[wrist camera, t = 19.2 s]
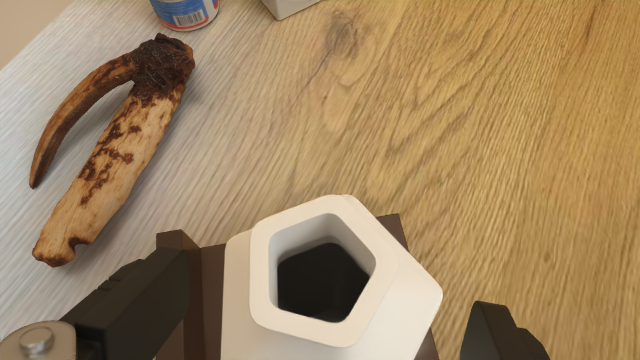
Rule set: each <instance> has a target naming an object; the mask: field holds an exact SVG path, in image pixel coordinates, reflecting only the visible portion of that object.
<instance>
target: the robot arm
mask: <svg viewBox="0 0 640 360" xmlns="http://www.w3.org/2000/svg"><path fill="white" fill-rule="evenodd" d="M189 300H190V253H189V251H188V250H187V249H182V248H176V247H170V246H164V245H161V246H159V247H158V248H157V249H156V250H155V251H154V252H152V253H151V254H150V255H149V256H148V257H147V258H146V259H145V260H143V259H138V260H136V261H134V262H132V263H129V264H127V265H125V266H123V267H121V268H120V269H119V270H118V271H116V272H115V273H114V274H113V275H112V276H110V277H109V279H108V280H106V281H104V282H103V283H102V284H101V285H100V286H99V287H98V289H95V290H94V291H93V292H91V293H90V294H89V295H88V296H87V297H86V298H84V299H83V300H82V301H81V302H80V303H78V304H77V305H76V306H75V307H74V308H72V309H71V310H70V311H69V312H68V313H67V314H65V315H64V316H63V317H62V318H61V319H59V320H58V321H54V320H51V321H42V322H37V323H33V324H30V325H27V326H24V327H22V328H20V329H18V330H16V331H14V332H12V333H11V334H9V335H8V336H7V337H5V338H4V339H3V340H2V341H1V342H0V360H152V359H153V358H154V357H155V355H156V354H157V353H158V351H159V350H160V349H161V347H162V346H163V345H164V343H165V342H166V340H167V339H168V338H169V336H170V335H171V334H172V332H173V331H174V330H175V328H176V327H177V326H178V324H179V323H180V321H181V320H182V319H183V317H184V315H185V313H186V311H187V308H188V305H189ZM460 360H550V358H549V356H548V354H547V352H546V351H545V349H544V347H543V345H542V344H541V343H540V342H539V341H538V340H537V339H536V338H535V337H534V336H533V335H532V334H531V333H530V332H529V331H528V330H527V329H524V328H518V327H517V326H516V324H515V322H514V320H513V318H512V316H511V314H510V312H509V309H508V308H507V307H506V306H505V305H499V304H493V303H487V302H482V301H475V302H474V304H473V306H472V309H471V313H470V317H469V320H468V324H467V328H466V331H465V335H464V339H463V342H462V346H461V351H460Z"/></svg>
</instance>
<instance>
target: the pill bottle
mask: <svg viewBox="0 0 640 360" xmlns="http://www.w3.org/2000/svg"><path fill="white" fill-rule="evenodd" d="M149 1H150V3H151V5H152V7H153V9H154V11H155V13H156V15H157V17H158V18H159V20H160V21H161V22H162V23H163V24H164V25H165V26H166V27H168V28H170V29H172V30H176V31H192V30H196V29H199V28H201V27H203V26H205V25H207V24H208V23H209V22H211V21H212V20H213V19H214V17H215V16H216V14H217V12H218V9H219V0H149Z"/></svg>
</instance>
